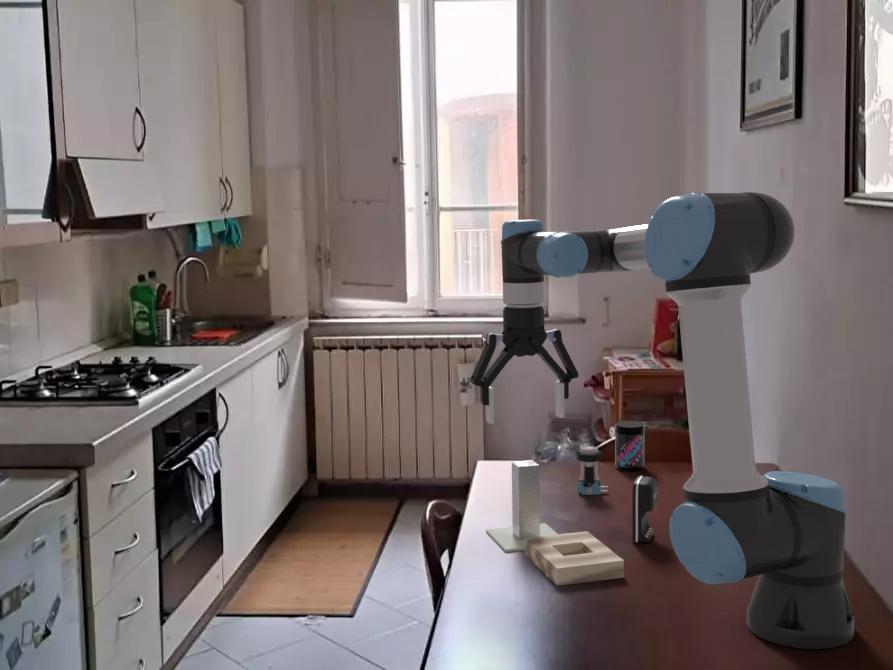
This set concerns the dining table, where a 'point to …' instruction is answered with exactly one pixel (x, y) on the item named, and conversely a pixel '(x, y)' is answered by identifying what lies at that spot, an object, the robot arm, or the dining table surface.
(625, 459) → the supplement container
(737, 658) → the dining table surface
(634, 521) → the key lock box
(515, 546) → the pad
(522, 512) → the peg
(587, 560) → the socket block
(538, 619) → the dining table surface
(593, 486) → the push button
